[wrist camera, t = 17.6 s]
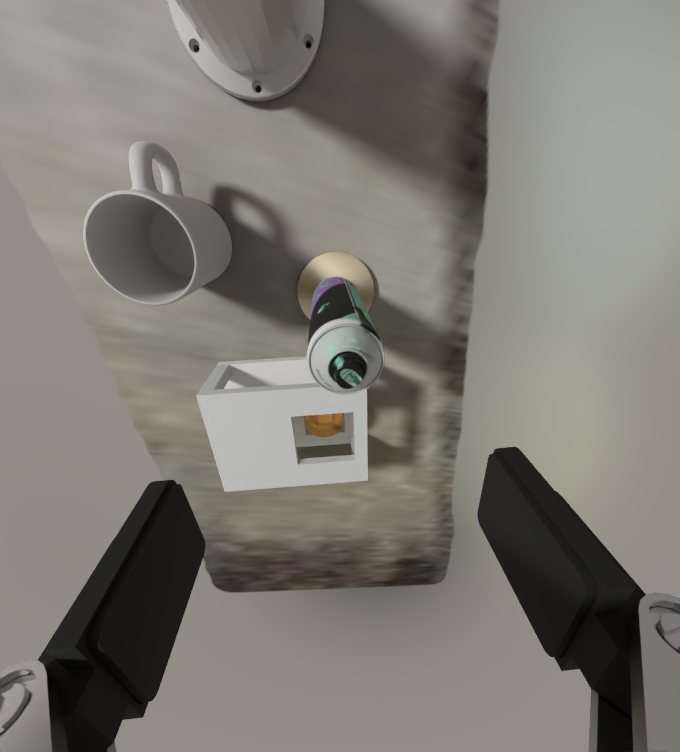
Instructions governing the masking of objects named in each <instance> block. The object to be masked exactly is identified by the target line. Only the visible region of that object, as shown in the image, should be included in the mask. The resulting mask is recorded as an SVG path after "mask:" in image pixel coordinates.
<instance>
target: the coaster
mask: <svg viewBox="0 0 680 752" xmlns="http://www.w3.org/2000/svg"><path fill="white" fill-rule="evenodd" d="M334 276H338V277H343V278H345V279H347V280H349V281H350V282H351V283H352V284H353V285H354V286H355V287H356V289H357V291H358V293H359V295H360V297H361V299H362V301H363V304H364V306H365V308H366V310H367V312H368V311H369V310H370V307H371V305H372V302H373V298H374V284H373V279H372V276H371V274H370V272H369V270H368V269H367V267H366V266H365V265H364V264H363V263H362V262H361V261H360V260H359V259H357V258H356V257H354V256H352V255H350V254H348V253H344V252H328V253H324V254H321V255H319V256H317V257H316V258H314V259H313V260H312V261H310V262H309V263H308V264H307V265H306V267H305V268H304V270H303V272H302V273H301V276H300V279H299V282H298V289H297V294H298V301H299V304H300V307H301V309H302V311H303V312H304V314H305V315H306V316H307V318H308V319H309V320H310V319H311V309H312V299H313V294H314V291H315V289H316V287H317V286H318V284H319V283H320V282H321V281H323V280H324V279H326V278H329V277H334Z"/></svg>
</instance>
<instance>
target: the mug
mask: <svg viewBox="0 0 680 752" xmlns="http://www.w3.org/2000/svg"><path fill="white" fill-rule="evenodd" d="M152 158H154V159H155V160H156V162H157V164H158V166H159V168H160V172H161V176H162V182H163V192H162V193H160V192H158V190H157V188H156V185H155V182H154V177H153V171H152ZM129 167H130V173H131V179H132V189H131V190H120V191H114V192H111V193H108V194H106V195H104V196H102V197H101V198H100V199H98V200H97V201H96V202H95V203H94V204H93V205H92V206H91V208H90V210H89V211H88V213H87V216H86V218H85V222H84V229H83V237H84V244H85V249H86V252H87V255H88V257H89V259H90V262H91V264H92V265H93V267H94V269H95V270H96V272H97V273H98V274H99V276H100V277H101V278H102V279H103V280H104V281H105V282H106V283H107V284H108V285H109V286H110V287H111V288H112V289H113V290H115V291H116V292H117V293H119V294H121V295H122V296H124V297H126V298H128V299H130V300H132V301H135V302H138V303H142V304H146V305H166V304H170V303H173V302H176V301H178V300H180V299H182V298H184V297H185V296H187V295H189V294H190V293H192V292H194V291H195V290H197V289H199V288H200V287H202V286H204V285H205V284H207V283H209V282H211V281H213V280H215V279H216V278H218V277H219V276H220V275H221V274H222V273H223V272H224V271H225V270H226V268H227V267H228V265H229V263H230V260H231V256H232V241H231V236H230V233H229V230H228V228H227V226H226V224H225V222H224V221H223V219H222V218H221V217H220V216H219V214H218V213H217V212H216V211H215V210H214V209H213V208H211V207H210V206H209V205H207V204H205V203H204V202H202V201H200V200H197V199H194V198H191V197H185V196H184V195H183V193H182V188H181V182H180V176H179V172H178V168H177V165H176V162H175V160H174V159H173V157H172V156H171V154H170V153H169V152H168V151H167V150H166V149H164V148H163V147H161V146H159V145H157V144H155V143H152V142H145V141H141V142H137V143H134V144H133V145H132V146H131V148H130V150H129Z"/></svg>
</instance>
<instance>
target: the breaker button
mask: <svg viewBox="0 0 680 752" xmlns="http://www.w3.org/2000/svg"><path fill="white" fill-rule="evenodd" d="M304 423H305V427H306V429H307V430H308V431H309V432H310V433H311V434H313V435H315V436H318V437H330V436H333V435H335V434H337V433H338V432H339V431H340V430H341V429H342V427H343V424H344V417H343V413H336V414H322V415H308V416H305V419H304Z"/></svg>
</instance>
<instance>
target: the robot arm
mask: <svg viewBox="0 0 680 752" xmlns="http://www.w3.org/2000/svg"><path fill="white" fill-rule="evenodd" d="M166 1H167V4H168V8H169V12H170V15H171V19H172V22H173V24H174V27H175V29H176V31H177V34H178V36H179V38H180V41H181V42H182V44H183V46H184V47H185V49H186V51H187V52H188V54H189V56H190V57H191V59H192V60H193V61H194V63H195V64H196V65H197V67H198V68H199V69H200V70H201V71H202V72H203V73H204V74H205V75H206V76H207V78H208V79H209V80H210V81H211V82H213V83H214V84H215V85H217V86H218V87H219V88H220V89H222V90H223V91H225V92H227V93H229V94H231V95H233V96H235V97H237V98H241V99H244V100H248V101H267V100H271V99H275V98H278V97H280V96H282V95H284V94H286V93H288V92H289V91H290V90H291V89H293V88H294V87H295V86H296V85H297V84H298V83H299V82H300V81H301V80H302V78H303V77H304V76H305V75H306V73H307V72H308V70H309V68H310V66H311V64H312V62H313V61H314V59H315V57H316V53H317V50H318V47H319V44H320V41H321V35H322V29H323V23H324V0H166ZM307 43H310V44H311V45H312V47H311V48H309V49H308V48H306V44H307ZM196 47H199V48H200V49H199V51H198V52H197V53H196V52H195V48H196ZM257 87H261V92H259V93H258V92H256V88H257ZM478 520H479V524H480V526H481V528H482V530H483V532H484V534H485V536H486V538H487V540H488V542H489V544H490V546H491V547H492V549H493V551H494V553H495V555H496V557H497V559H498V561H499V563H500V565H501V567H502V569H503V571H504V573H505V575H506V576H507V579H508V581H509V582H510V584H511V586H512V588H513V590H514V592H515V594H516V596H517V598H518V600H519V602H520V604H521V606H522V608H523V609H524V612H525V613H526V615H527V617H528V619H529V621H530V623H531V625H532V627H533V629H534V631H535V633H536V635H537V637H538V639H539V641H540V642H541V645H542V646H543V648H544V650H545V651H546V653H547V654H548V655H549V656H551V657H555V659H556V661H557V663H558V665H559V667H560V669H561V670H562V671H564V670H573V669H580V670H581V672H582V673H583V675H584V677H585V679H586V680H587V682H588V684H589V686H590V687H591V707H590V730H589V752H680V598H677V597H674V596H671V595H668V594H662V593H651V594H647V595H646V594H645V593H644V592H643V591H642V590H641V588H640V587H639V586H638V585H637V584H636V583H635V582H634V580H633V579H632V578H631V577H630V576H629V574H628V573H627V572H626V571H625V570H624V569H623V567H622V566H621V565H620V564H619V563H618V562H617V560H616V559H615V558H614V557H613V556H612V555H611V553H610V552H609V551H608V550H607V549H606V547H605V546H604V545H603V544H602V543H601V542H600V541H599V539H598V538H597V537H596V536H595V535H594V533H593V532H592V531H591V530H590V529H589V528H588V527H587V525H586V524H585V523H584V522H583V521H582V519H580V517H579V516H578V515H577V514H576V513H575V511H574V510H573V509H572V508H571V507H570V505H569V504H568V503H567V502H566V501H565V500H564V498H563V497H562V496H561V495H560V494H559V493H558V492H556V491H554V490H553V488H552V487H551V486H550V485H549V484H548V482H547V481H546V480H545V479H544V478H543V477H542V475H541V474H540V473H539V472H538V471H537V470H536V468H535V467H534V466H533V465H532V463H531V462H530V461H529V460H528V459H527V458H526V456H525V455H524V454H523V453H522V452H521V451H520V450H519V449H518V448H517V447H508V448H498V449H495V450H494V453H493V454H490V455H489V458H488V463H487V468H486V473H485V478H484V483H483V488H482V494H481V498H480V503H479V508H478ZM204 552H205V540H204V538H203V535H202V533H201V531H200V528H199V526H198V523H197V521H196V519H195V516H194V514H193V512H192V509H191V507H190V505H189V502H188V500H187V498H186V495H185V493H184V491H183V488H182V486H181V485H180V484H176V482H175V481H174V480H166V481H155V482H151V483H150V484H149V485H148V486H147V488H146V489H145V491H144V493H143V494H142V496H141V498H140V499H139V501H138V502H137V504H136V505H135V507H134V509H133V510H132V512H131V513H130V515H129V517H128V518H127V520H126V522H125V523H124V525H123V526H122V528H121V530H120V531H119V533H118V534H117V536H116V537H115V539H114V540H113V541H112V543H111V544H110V546H109V547H108V549H107V551H106V552H105V554H104V555H103V557H102V559H101V560H100V562H99V563H98V565H97V567H96V568H95V570H94V571H93V573H92V575H91V576H90V578H89V579H88V581H87V583H86V584H85V586H84V587H83V589H82V590H81V592H80V594H79V595H78V597H77V599H76V600H75V602H74V603H73V605H72V606H71V608H70V610H69V611H68V613H67V614H66V616H65V618H64V619H63V621H62V622H61V624H60V626H59V627H58V629H57V631H56V632H55V634H54V635H53V637H52V638H51V640H50V642H49V643H48V645H47V646H46V648H45V650H44V651H43V653H42V654H41V656H40V657H39V659H38V660H24V661H21V662H19V663H15V664H13V665H11V666H10V667H8V668H6V669H4V670H2V671H1V672H0V752H116V747H115V742H114V740H115V738H116V735H117V732H118V730H119V727H120V725H121V722H122V720H124V719H133V718H142V717H143V716H144V713H145V710H146V707H147V705H148V702H149V701H152V700H153V699H154V698H155V696H156V694H157V692H158V689H159V687H160V683H161V681H162V678H163V675H164V672H165V669H166V666H167V663H168V660H169V657H170V654H171V651H172V648H173V645H174V642H175V639H176V636H177V633H178V630H179V627H180V624H181V621H182V618H183V615H184V612H185V609H186V606H187V603H188V600H189V597H190V594H191V591H192V588H193V585H194V582H195V579H196V576H197V574H198V571H199V567H200V565H201V562H202V559H203V556H204Z"/></svg>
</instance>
